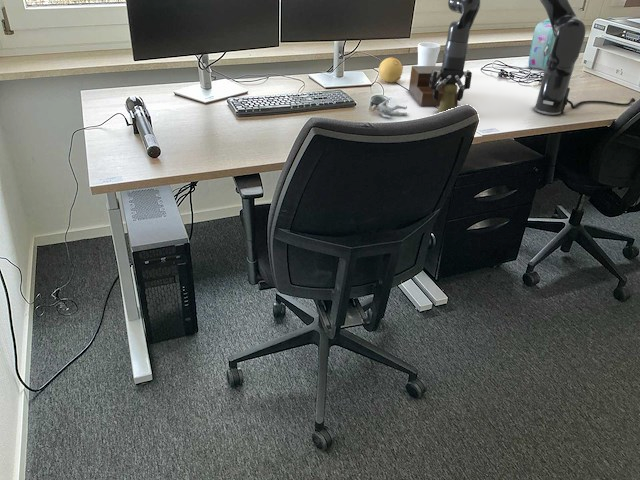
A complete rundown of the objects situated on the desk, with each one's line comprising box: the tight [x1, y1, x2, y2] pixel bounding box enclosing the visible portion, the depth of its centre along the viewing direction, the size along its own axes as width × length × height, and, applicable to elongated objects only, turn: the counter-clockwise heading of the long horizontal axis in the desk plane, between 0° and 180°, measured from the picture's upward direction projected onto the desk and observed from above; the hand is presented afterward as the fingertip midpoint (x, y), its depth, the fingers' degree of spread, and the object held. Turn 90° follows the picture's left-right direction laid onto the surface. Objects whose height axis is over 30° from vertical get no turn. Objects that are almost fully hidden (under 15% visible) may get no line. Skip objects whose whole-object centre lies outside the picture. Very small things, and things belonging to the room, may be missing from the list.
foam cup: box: [417, 41, 441, 66], centre depth 233 cm, size 10×9×13 cm
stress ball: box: [378, 56, 404, 83], centre depth 224 cm, size 10×10×10 cm
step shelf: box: [408, 65, 459, 107], centre depth 208 cm, size 18×14×10 cm
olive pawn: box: [437, 83, 459, 114], centre depth 193 cm, size 6×6×11 cm
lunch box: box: [528, 18, 555, 71], centre depth 252 cm, size 27×10×21 cm, turn 147°
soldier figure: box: [372, 97, 408, 119], centre depth 192 cm, size 8×5×12 cm
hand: (447, 100), depth 194 cm, fingers open, 8 cm apart
